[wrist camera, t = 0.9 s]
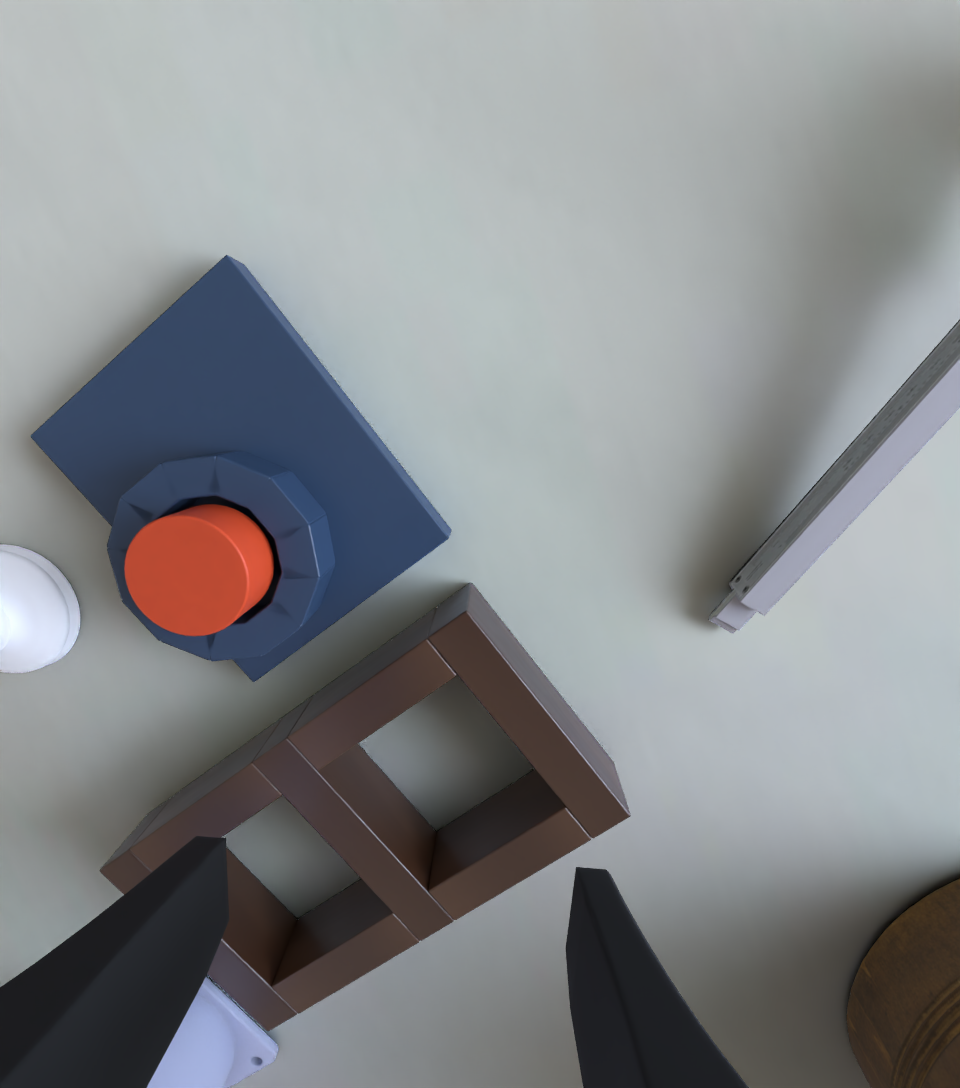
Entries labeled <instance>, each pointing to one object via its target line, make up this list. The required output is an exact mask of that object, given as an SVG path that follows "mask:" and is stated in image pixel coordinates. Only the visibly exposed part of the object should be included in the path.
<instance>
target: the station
mask: <svg viewBox="0 0 960 1088" xmlns="http://www.w3.org/2000/svg"><path fill="white" fill-rule="evenodd" d="M31 438H32V439H33V440H34V441H35V442H36V444H37V445H38V446H39V447H40V448H41V449H42V450H43V451H44V452H45V453H46V455H47V456H48V457H49V458H50V459H51V460H52V461H53V462H54V463H55V464H56V466H57V467H58V468H59V469H60V470H61V471H62V472H63V473H64V474H65V475H66V477H67V478H68V479H69V480H70V481H71V482H72V483H73V484H74V485H75V486H76V488H77V489H78V490H79V491H80V492H81V493H82V494H83V495H84V496H85V497H86V499H87V500H88V501H89V502H90V503H91V504H92V505H93V506H94V507H95V508H96V510H97V511H98V512H99V513H100V514H101V515H102V516H103V517H104V518H105V519H106V521H107V522H108V523H109V524H110V525H111V526H112V529H111V533H110V536H109V540H108V544H107V547H108V549H107V551H108V554H109V558H110V561H111V565H112V568H113V572H114V575H115V579H116V582H117V586H118V589H119V593H120V596H121V599H123V600H122V602H123V603H124V604H125V605H126V606H127V607H128V608H129V609H130V610H131V612H132V613H133V614H134V615H135V616H136V617H137V618H138V619H139V620H140V621H141V622H142V623H143V624H144V625H145V627H146V628H147V629H148V630H149V631H150V632H151V633H152V634H153V635H154V636H155V637H156V638H157V639H158V640H159V641H162V642H163V643H166V644H168V645H171V646H173V647H176V648H178V649H181V650H184V651H186V652H189V653H191V654H194V655H196V656H199V657H201V658H204V659H207V660H211V661H220V660H229V659H233V660H234V662H235V663H236V664H237V665H238V666H239V667H240V668H241V669H242V670H243V671H244V673H245V674H246V675H247V676H248V677H249V678H250V679H251V680H252V681H253V682H255V681H257V680H258V679H259V678H261V677H262V676H263V675H265V674H266V673H267V672H269V671H270V670H271V669H273V668H274V667H276V666H277V665H278V664H280V663H281V662H282V661H284V660H285V659H286V658H288V657H289V656H290V655H292V654H293V653H294V652H296V651H297V650H298V649H300V648H301V647H303V646H304V645H305V644H307V643H308V642H309V641H311V640H312V639H313V638H315V637H316V636H317V635H319V634H320V633H321V632H323V631H324V630H326V629H327V628H328V627H330V626H331V625H332V624H334V623H335V622H336V621H338V620H339V619H340V618H342V617H343V616H344V615H346V614H347V613H349V612H350V611H351V610H353V609H354V608H355V607H357V606H358V605H359V604H361V603H362V602H363V601H365V600H366V599H367V598H369V597H370V596H371V595H373V594H374V593H376V592H377V591H378V590H380V589H381V588H382V587H384V586H385V585H386V584H388V583H389V582H390V581H392V580H393V579H394V578H396V577H397V576H399V575H400V574H401V573H403V572H404V571H405V570H407V569H408V568H409V567H411V566H412V565H413V564H415V563H416V562H417V561H419V560H420V559H422V558H423V557H424V556H426V555H427V554H428V553H430V552H431V551H432V550H434V549H435V548H436V547H438V546H439V545H440V544H442V543H443V542H444V541H446V540H447V539H448V538H449V536H450V533H451V529H450V527H449V526H448V525H447V524H446V522H445V521H444V520H443V518H442V517H441V516H440V515H439V513H438V512H437V511H436V510H435V508H434V507H433V506H432V504H431V503H430V502H429V501H428V499H427V498H426V497H425V495H424V494H423V493H422V492H421V490H420V489H419V488H418V486H417V485H416V484H415V483H414V481H413V480H412V479H411V478H410V476H409V475H408V474H407V472H406V471H405V470H404V469H403V467H402V466H401V465H400V463H399V462H398V461H397V460H396V458H395V457H394V456H393V454H392V453H391V452H390V451H389V449H388V448H387V447H386V446H385V444H384V443H383V442H382V440H381V439H380V438H379V437H378V435H377V434H376V433H375V431H374V430H373V429H372V428H371V426H370V425H369V424H368V422H367V421H366V420H365V419H364V417H363V416H362V415H361V414H360V412H359V411H358V410H357V408H356V407H355V406H354V405H353V403H352V402H351V401H350V399H349V398H348V397H347V396H346V394H345V393H344V392H343V390H342V389H341V388H340V387H339V385H338V384H337V383H336V382H335V380H334V379H333V378H332V376H331V375H330V374H329V373H328V371H327V370H326V369H325V367H324V366H323V365H322V364H321V362H320V361H319V360H318V358H317V357H316V356H315V355H314V353H313V352H312V351H311V350H310V348H309V347H308V346H307V344H306V343H305V342H304V341H303V339H302V338H301V337H300V335H299V334H298V333H297V332H296V330H295V329H294V328H293V326H292V325H291V324H290V323H289V321H288V320H287V319H286V317H285V316H284V315H283V314H282V312H281V311H280V310H279V309H278V307H277V306H276V305H275V303H274V302H273V301H272V300H271V298H270V297H269V296H268V294H267V293H266V292H265V291H264V289H263V288H262V287H261V285H260V284H259V283H258V282H257V280H256V279H255V278H254V277H253V275H252V274H251V273H250V271H249V270H248V269H247V268H246V266H245V265H244V264H242V263H241V262H239V261H237V260H235V259H233V258H232V257H230V256H228V255H226V256H225V257H224V258H222V259H221V260H220V261H219V262H218V263H217V264H216V265H215V266H214V267H213V268H212V269H211V270H209V271H208V272H207V273H206V274H205V275H204V276H203V277H202V278H201V279H200V280H199V281H198V282H196V283H195V284H194V285H193V286H192V287H191V288H190V289H189V290H188V291H187V292H186V293H185V294H183V295H182V296H181V297H180V298H179V299H178V300H177V301H176V302H175V303H174V304H173V305H172V306H171V307H169V308H168V309H167V310H166V311H165V312H164V313H163V314H162V315H161V316H160V317H159V318H158V319H156V320H155V321H154V322H153V323H152V324H151V325H150V326H149V327H148V328H147V329H146V330H145V331H143V332H142V333H141V334H140V335H139V336H138V337H137V338H136V339H135V340H134V341H133V342H132V343H130V344H129V345H128V346H127V347H126V348H125V349H124V350H123V351H122V352H121V353H120V354H119V355H117V356H116V357H115V358H114V359H113V360H112V361H111V362H110V363H109V364H108V365H107V366H106V367H104V368H103V369H102V370H101V371H100V372H99V373H98V374H97V375H96V376H95V377H94V378H93V379H91V380H90V381H89V382H88V383H87V384H86V385H85V386H84V387H83V388H82V389H81V390H80V391H78V392H77V393H76V394H75V395H74V396H73V397H72V398H71V399H70V400H69V401H68V402H67V403H65V404H64V405H63V406H62V407H61V408H60V409H59V410H58V411H57V412H56V413H55V414H54V415H52V416H51V417H50V418H49V419H48V420H47V421H46V422H45V423H44V424H43V425H42V426H41V427H39V428H38V429H37V430H36V431H35V432H34V433H33V434H32V435H31ZM204 504H217V505H223V506H228V507H230V508H233V509H236V510H238V511H240V512H242V513H243V514H245V515H246V516H248V517H249V518H250V519H252V520H253V521H254V522H255V523H256V524H257V525H258V526H259V527H260V528H261V530H262V531H263V532H264V534H265V535H266V537H267V539H268V541H269V543H270V546H271V549H272V552H273V557H274V574H273V579H272V582H271V585H270V587H269V589H268V591H267V592H266V594H265V595H264V596H263V598H262V599H261V600H260V601H259V602H258V603H257V604H255V605H254V606H253V607H252V608H250V609H249V610H248V611H247V612H245V613H244V614H243V615H242V616H241V617H239V618H238V619H237V620H236V621H234V622H233V623H232V624H231V625H229V626H228V627H226V628H225V629H223V630H221V631H219V632H216V633H213V634H210V635H204V636H185V635H180V634H176V633H173V632H170V631H168V630H166V629H164V628H162V627H160V626H158V625H157V624H155V623H154V622H152V621H151V620H150V619H149V618H148V617H146V616H145V615H144V614H143V613H142V611H141V610H140V609H139V608H138V607H137V605H136V604H135V602H134V600H133V599H132V597H131V595H130V593H129V590H128V587H127V584H126V580H125V572H124V565H125V557H126V553H127V550H128V547H129V545H130V543H131V541H132V540H133V538H134V537H135V535H136V534H137V533H138V532H139V531H140V530H141V529H142V528H143V527H144V526H146V525H147V524H148V523H150V522H152V521H154V520H156V519H159V518H162V517H165V516H168V515H171V514H174V513H177V512H180V511H183V510H186V509H189V508H192V507H195V506H199V505H204Z"/></svg>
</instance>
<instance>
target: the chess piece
mask: <svg viewBox="0 0 960 1088" xmlns="http://www.w3.org/2000/svg"><path fill="white" fill-rule="evenodd" d="M79 629H80V608H79V604H78V600H77V597H76V595H75V592H74V590H73V588H72V586H71V585H70V583H69V582H68V580H67V579H66V577H65V576H64V575H63V574H62V572H61V571H60V570H59V569H58V568H57V567H56V566H55V565H53V564H52V563H51V562H50V561H49V560H47V559H46V558H44V557H43V556H41V555H39V554H37V553H35V552H33V551H31V550H29V549H26V548H23V547H19V546H15V545H7V544H0V672H4V673H26V672H30V671H34V670H37V669H39V668H42V667H44V666H47V665H50V664H52V663H55V662H56V661H58V660H60V659H61V658H62V657H64V656H65V655H66V654H67V653H68V652H69V651H70V649H71V648H72V647H73V645H74V643H75V641H76V639H77V637H78V633H79Z"/></svg>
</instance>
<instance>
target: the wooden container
mask: <svg viewBox="0 0 960 1088" xmlns="http://www.w3.org/2000/svg"><path fill="white" fill-rule="evenodd" d="M847 1028H848V1033H849V1040H850V1043H851V1046H852V1050H853V1053H854V1055H855V1057H856V1059H857V1062H858V1064H859V1066H860V1068H861V1070H862V1071H863V1073H864V1075H865V1077H866V1079H867V1081H868V1083H869V1085H870V1087H871V1088H960V879H958V880H955V881H953V882H951V883H949V884H947V885H946V886H943V887H941V888H939V889H938V890H936V891H934V892H933V893H931V894H929V895H927V896H926V897H924V898H923V899H921V900H920V901H919V902H917V903H916V904H914V905H913V906H911V907H909V908H908V909H907V910H906V911H905V912H904V913H903V914H901V915H900V916H899V917H898V918H897V919H896V920H895V921H894V922H893V923H892V924H891V925H889V926H888V928H887V929H886V930H885V931H884V932H883V933H882V935H881V936H880V937H879V938H878V939H877V941H876V942H875V943H874V945H873V946H872V947H871V949H870V950H869V952H868V954H867V955H866V957H865V958H864V959H863V961H862V963H861V965H860V967H859V970H858V972H857V974H856V977H855V979H854V983H853V985H852V988H851V994H850V997H849V1001H848V1006H847Z"/></svg>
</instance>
